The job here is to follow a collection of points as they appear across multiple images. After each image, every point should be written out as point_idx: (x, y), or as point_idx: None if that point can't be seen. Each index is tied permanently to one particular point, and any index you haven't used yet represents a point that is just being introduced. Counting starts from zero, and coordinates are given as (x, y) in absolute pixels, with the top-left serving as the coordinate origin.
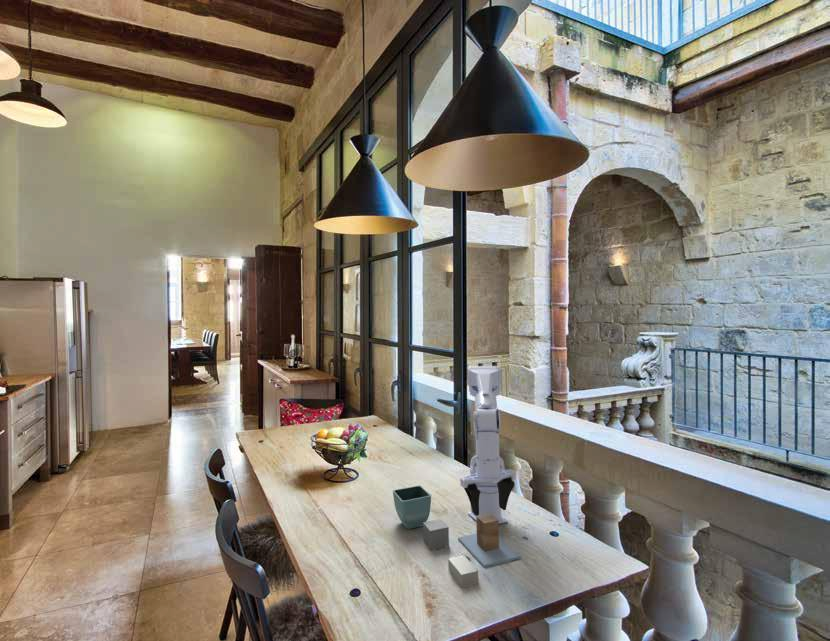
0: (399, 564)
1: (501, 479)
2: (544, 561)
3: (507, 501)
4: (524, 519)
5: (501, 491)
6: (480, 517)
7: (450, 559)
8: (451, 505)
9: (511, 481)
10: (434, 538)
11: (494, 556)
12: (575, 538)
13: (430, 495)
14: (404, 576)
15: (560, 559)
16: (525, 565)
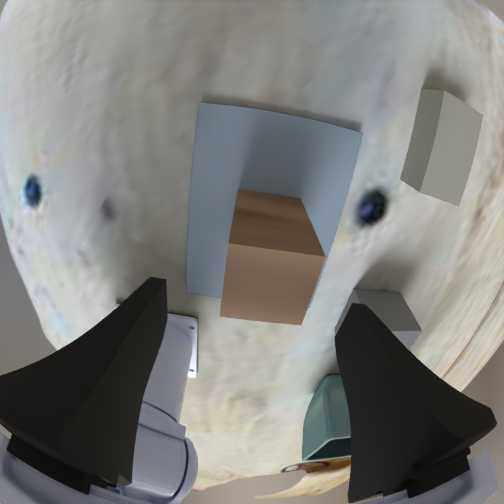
0: (472, 275)
1: (104, 496)
2: (143, 55)
3: (118, 306)
4: (71, 289)
5: (128, 397)
6: (292, 310)
7: (458, 197)
8: (210, 403)
9: (11, 431)
10: (402, 312)
11: (293, 152)
12: (7, 146)
13: (330, 439)
14: (494, 234)
15: (94, 51)
16: (220, 60)
